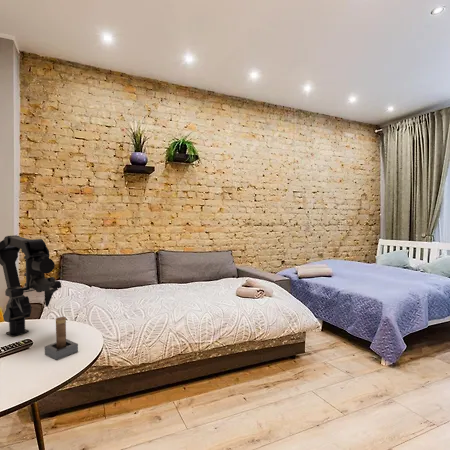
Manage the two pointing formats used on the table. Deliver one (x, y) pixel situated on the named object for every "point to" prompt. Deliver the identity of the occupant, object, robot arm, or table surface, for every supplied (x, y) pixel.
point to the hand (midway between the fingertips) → (35, 309)
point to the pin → (60, 332)
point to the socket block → (61, 350)
